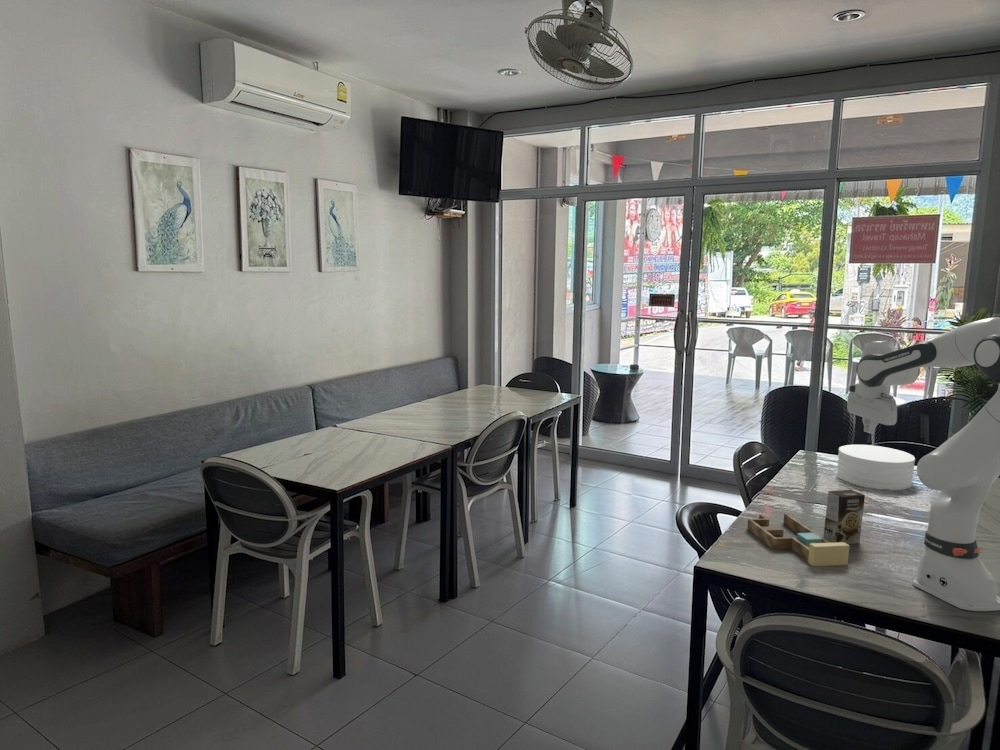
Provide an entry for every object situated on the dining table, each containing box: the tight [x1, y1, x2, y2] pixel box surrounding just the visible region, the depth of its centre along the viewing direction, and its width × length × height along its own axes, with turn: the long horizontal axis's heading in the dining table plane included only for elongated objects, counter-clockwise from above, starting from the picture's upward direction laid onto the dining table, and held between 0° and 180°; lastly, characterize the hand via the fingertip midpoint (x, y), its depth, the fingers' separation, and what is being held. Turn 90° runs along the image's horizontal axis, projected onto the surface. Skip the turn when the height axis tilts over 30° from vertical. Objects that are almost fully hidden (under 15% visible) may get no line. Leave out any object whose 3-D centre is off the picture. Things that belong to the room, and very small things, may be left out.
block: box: [796, 533, 822, 548], centre depth 215 cm, size 5×5×5 cm
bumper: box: [807, 542, 850, 567], centre depth 206 cm, size 2×11×6 cm, turn 97°
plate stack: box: [835, 444, 916, 491], centre depth 290 cm, size 28×28×12 cm
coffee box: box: [822, 489, 866, 545], centre depth 223 cm, size 9×6×16 cm
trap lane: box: [746, 513, 831, 562], centre depth 222 cm, size 31×16×4 cm, turn 7°
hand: (869, 432), depth 226 cm, fingers closed
